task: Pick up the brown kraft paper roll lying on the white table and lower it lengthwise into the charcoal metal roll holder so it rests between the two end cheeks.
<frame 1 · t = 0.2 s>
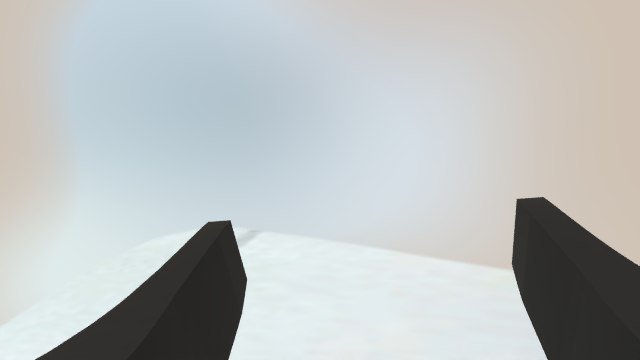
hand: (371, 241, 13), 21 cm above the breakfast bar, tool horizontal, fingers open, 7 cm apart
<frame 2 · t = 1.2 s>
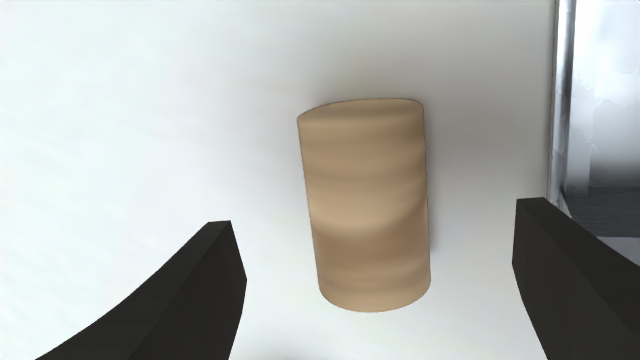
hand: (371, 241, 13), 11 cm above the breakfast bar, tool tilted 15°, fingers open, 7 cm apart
roll: (379, 179, 24), on the breakfast bar
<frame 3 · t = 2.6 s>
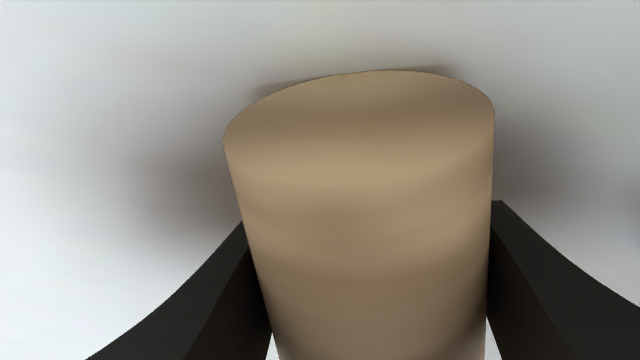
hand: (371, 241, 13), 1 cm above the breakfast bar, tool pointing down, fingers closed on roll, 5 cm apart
roll: (369, 209, 14), on the breakfast bar, touching gripper
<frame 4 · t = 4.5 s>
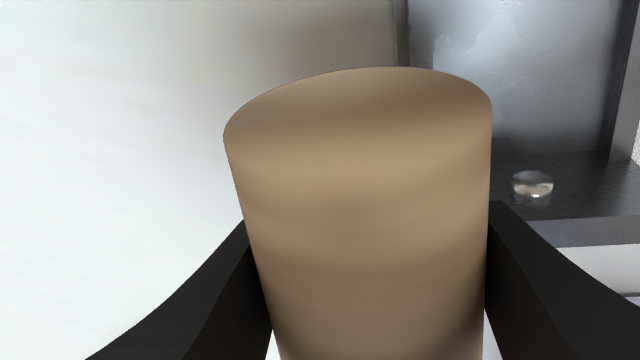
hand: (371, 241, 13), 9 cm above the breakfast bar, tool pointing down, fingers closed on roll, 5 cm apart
roll: (363, 205, 14), point 8 cm above the breakfast bar, touching gripper
holder: (515, 26, 19), on the breakfast bar
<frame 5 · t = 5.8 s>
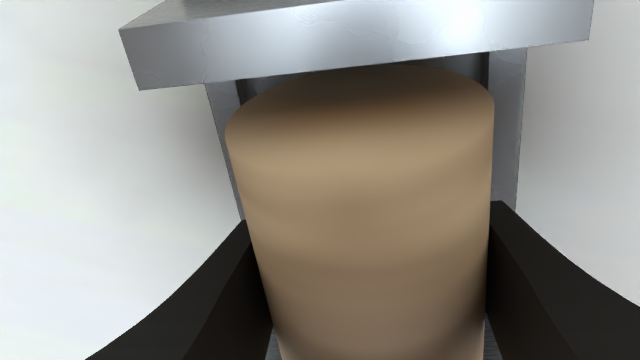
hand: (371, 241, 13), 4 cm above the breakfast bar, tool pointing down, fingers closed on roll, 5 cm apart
roll: (363, 203, 14), point 3 cm above the breakfast bar, touching gripper
holder: (369, 159, 17), on the breakfast bar
when the fingers open (4 cm above the breakfast bar, at t = 6.5 s): roll stays where it is, resting on holder.
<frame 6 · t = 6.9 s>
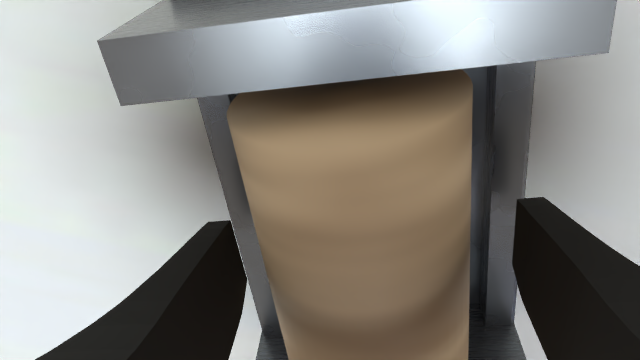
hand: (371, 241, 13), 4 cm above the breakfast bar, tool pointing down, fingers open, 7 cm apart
roll: (363, 185, 15), point 1 cm above the breakfast bar, touching holder
holder: (369, 171, 16), on the breakfast bar
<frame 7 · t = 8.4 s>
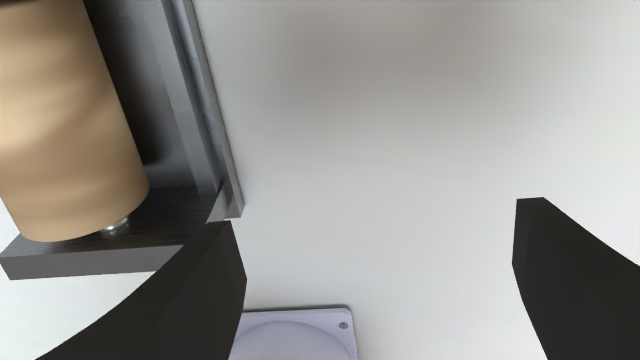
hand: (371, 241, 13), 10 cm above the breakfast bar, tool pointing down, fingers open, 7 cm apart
roll: (93, 87, 21), point 1 cm above the breakfast bar, tilted 15°, touching holder
holder: (109, 80, 22), on the breakfast bar
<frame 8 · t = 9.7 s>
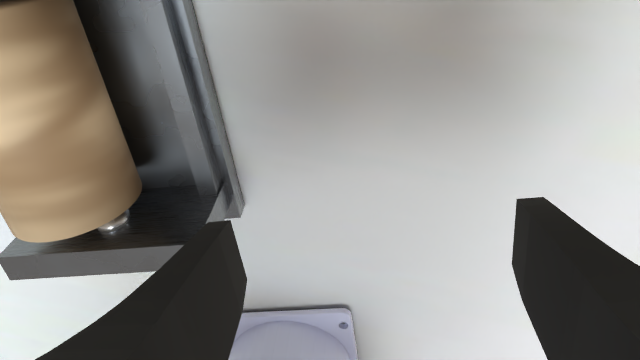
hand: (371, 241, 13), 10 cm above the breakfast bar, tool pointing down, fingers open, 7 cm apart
roll: (92, 88, 21), point 1 cm above the breakfast bar, tilted 22°, touching holder
holder: (109, 80, 22), on the breakfast bar
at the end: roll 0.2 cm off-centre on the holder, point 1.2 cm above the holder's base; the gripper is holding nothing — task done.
